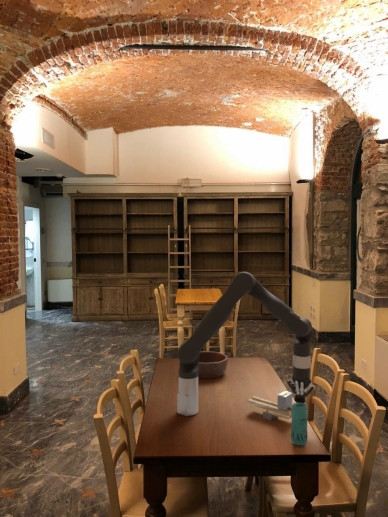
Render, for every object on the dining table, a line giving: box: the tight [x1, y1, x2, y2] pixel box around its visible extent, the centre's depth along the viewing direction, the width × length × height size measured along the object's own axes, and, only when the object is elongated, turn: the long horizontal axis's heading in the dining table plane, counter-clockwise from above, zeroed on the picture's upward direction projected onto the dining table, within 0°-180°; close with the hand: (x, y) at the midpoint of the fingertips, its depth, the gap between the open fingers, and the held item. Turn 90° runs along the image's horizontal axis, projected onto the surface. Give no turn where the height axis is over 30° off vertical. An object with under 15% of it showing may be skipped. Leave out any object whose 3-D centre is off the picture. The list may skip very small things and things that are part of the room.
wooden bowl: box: [198, 350, 229, 380], centre depth 250 cm, size 25×25×10 cm
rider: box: [277, 390, 293, 411], centre depth 186 cm, size 6×4×8 cm, turn 141°
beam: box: [246, 395, 292, 422], centre depth 190 cm, size 7×21×6 cm, turn 51°
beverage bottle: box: [290, 394, 309, 446], centre depth 165 cm, size 6×7×20 cm
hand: (301, 404), depth 181 cm, fingers closed
